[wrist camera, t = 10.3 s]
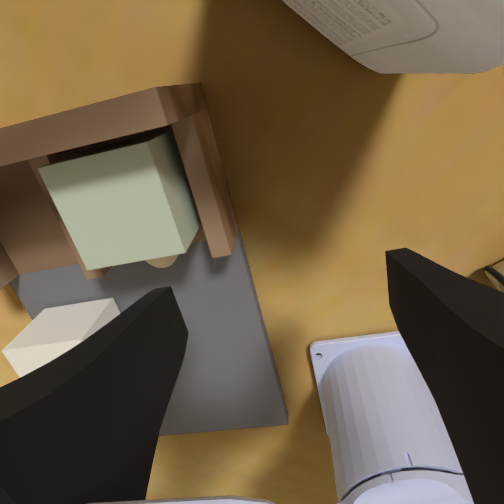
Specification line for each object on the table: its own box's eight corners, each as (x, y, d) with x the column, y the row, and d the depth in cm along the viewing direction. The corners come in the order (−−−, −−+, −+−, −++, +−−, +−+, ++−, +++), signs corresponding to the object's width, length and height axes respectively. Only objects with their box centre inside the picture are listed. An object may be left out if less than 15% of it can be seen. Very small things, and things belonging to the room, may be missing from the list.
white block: (169, 417, 27) (147, 485, 23) (111, 423, 28) (78, 489, 24) (113, 297, 23) (71, 352, 18) (44, 308, 23) (-12, 363, 19)
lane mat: (288, 413, 28) (288, 424, 27) (110, 429, 30) (105, 440, 29) (239, 228, 21) (237, 234, 20) (16, 269, 24) (6, 277, 23)
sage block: (211, 249, 20) (196, 286, 17) (132, 263, 21) (102, 301, 18) (174, 128, 18) (146, 141, 14) (84, 150, 18) (37, 168, 15)
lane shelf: (239, 228, 21) (220, 292, 15) (16, 269, 24) (-79, 339, 17) (200, 82, 18) (155, 86, 11) (-54, 149, 20) (-203, 182, 14)
